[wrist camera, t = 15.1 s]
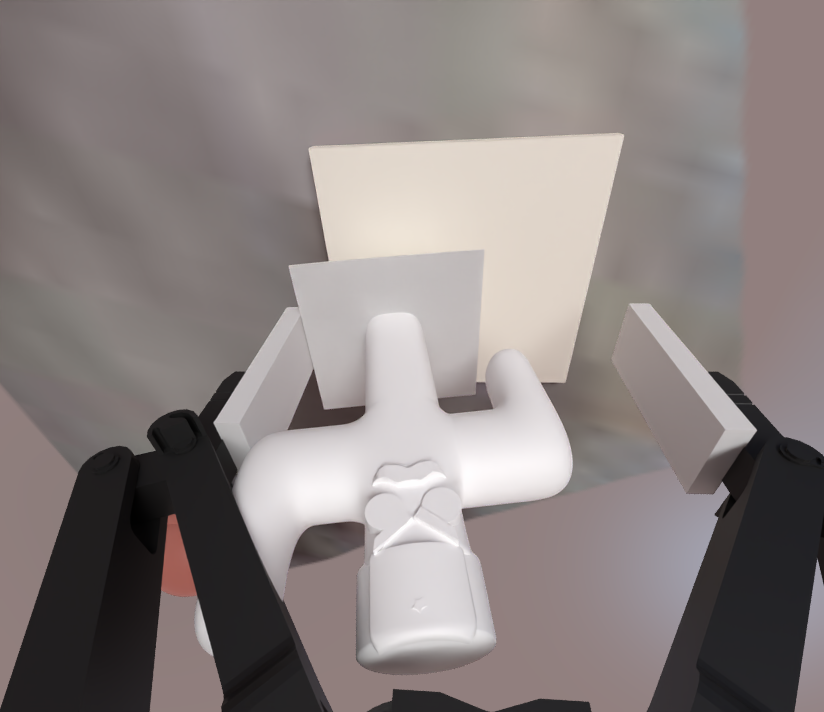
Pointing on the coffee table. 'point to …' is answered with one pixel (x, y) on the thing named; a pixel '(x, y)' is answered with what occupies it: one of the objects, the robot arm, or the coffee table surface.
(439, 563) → the white faucet
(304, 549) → the coffee table surface
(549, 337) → the game square
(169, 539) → the pink ball
